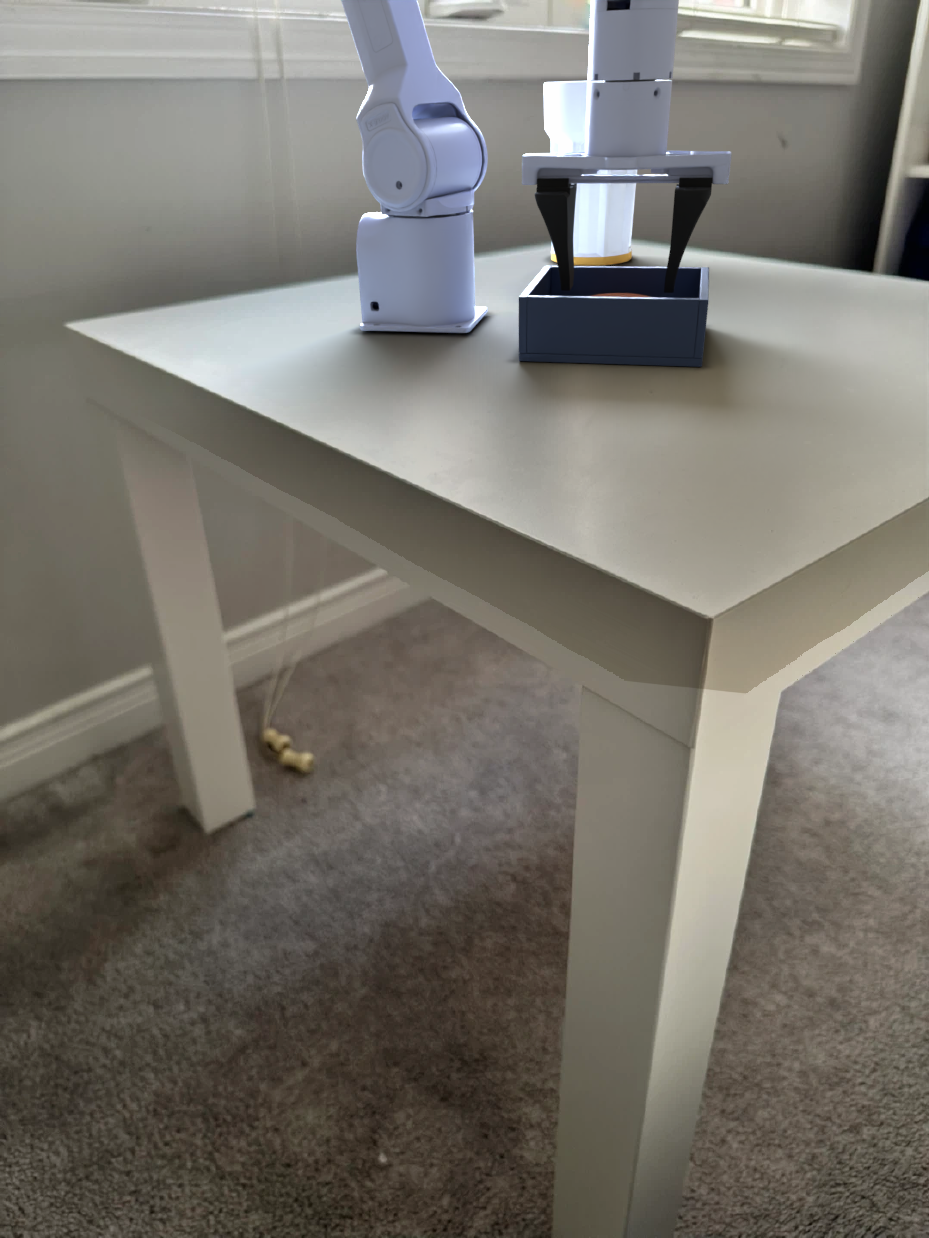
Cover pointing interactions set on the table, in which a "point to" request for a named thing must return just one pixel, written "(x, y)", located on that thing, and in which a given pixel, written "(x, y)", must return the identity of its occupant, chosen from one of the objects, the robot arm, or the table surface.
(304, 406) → the table surface
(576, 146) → the cup
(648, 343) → the tub
